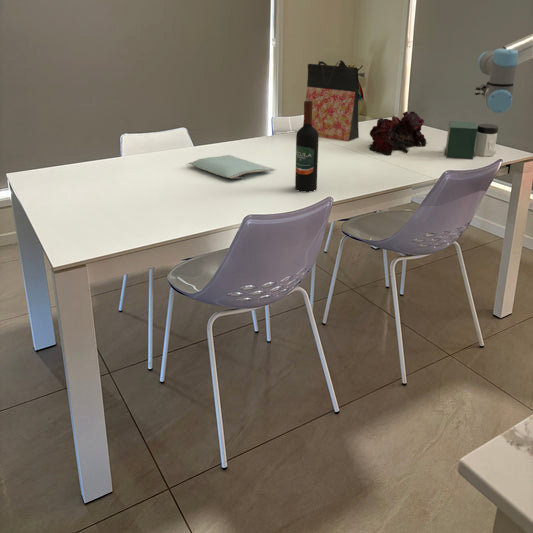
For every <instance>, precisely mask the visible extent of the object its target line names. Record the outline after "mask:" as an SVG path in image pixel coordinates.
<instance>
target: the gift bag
mask: <svg viewBox="0 0 533 533" xmlns="http://www.w3.org/2000/svg"><path fill="white" fill-rule="evenodd" d="M365 74H366V73H365V72H360V73H359V70H358V67H356V66H355V67H354V66H347V64H346V63H345V62H344V61H343V60H341V59H340V60H339V61H337V63H336V64H335V65H332V64H331V65H330V64H327V63H326V62H325V61H323V60H321V61H320V60H318V62H317V63H308V64H307V82H306V94H305V101H312V102H313V107H312V126H313V127H314V128H315V129H316V130H317V132H318V134H319V138H324V139H325V138H326V139H332V140H337V141H343V142H350V141H354V140H356V139H358V138H360V136H359V134H360V132H359V77H362V78H365ZM303 124H304V121H303V123H302V125H303Z"/></svg>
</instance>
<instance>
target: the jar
mask: <svg viewBox="0 0 533 533" xmlns="http://www.w3.org/2000/svg"><path fill="white" fill-rule="evenodd" d="M498 132H499V125H496V124H490V123H480V124H478V125H477V135H476V142H475V148H474V155H473V156H479V157H482V158H483V157H494V156H495V150H496V143H497V138H498Z"/></svg>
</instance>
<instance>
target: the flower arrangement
mask: <svg viewBox="0 0 533 533" xmlns="http://www.w3.org/2000/svg"><path fill="white" fill-rule="evenodd" d="M402 115H403V116H402V117H401V119H400V118H399V117H398V116H395V115H393V116H391V119H389V118H382V117H380V118H379V119H377V120H376V121H377V122H376V125H373V126H372V128H371V130H370V131H369V136H370V138H372V143H370V145H369V147H368V149H369V151H371V152H375V153H378V154H383V155H384V156H391V155H392V153H393V152H394V151H403V152H404V153H406V154H408V148H412V147H417V146H418V147H419V146H422V147H426V145H427V138H425V135H424V134H423V132H421V131H422V126H423V125H424V123H425V119H423V118H421V117H420V116H419V115H418V114H417V113H416V112H415V111H410V112H408V111H407V110H405V111H404V112H403V113H402Z"/></svg>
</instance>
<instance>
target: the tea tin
mask: <svg viewBox="0 0 533 533" xmlns="http://www.w3.org/2000/svg"><path fill="white" fill-rule="evenodd" d="M476 135H477V131H475V130H455V129H450V126H449V125H448V128H447V136H446V144H445V158H446V159H460V160H461V159H462V160H474V156H475V155H474V148H475V142H476Z"/></svg>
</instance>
